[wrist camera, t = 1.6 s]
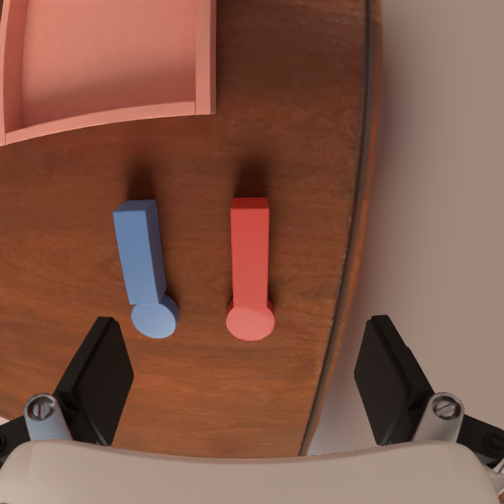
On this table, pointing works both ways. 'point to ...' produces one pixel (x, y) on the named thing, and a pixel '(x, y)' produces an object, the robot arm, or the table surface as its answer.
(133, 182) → the table surface
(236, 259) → the red spoon
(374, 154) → the table surface
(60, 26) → the red tray
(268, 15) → the table surface
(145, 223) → the blue spoon
